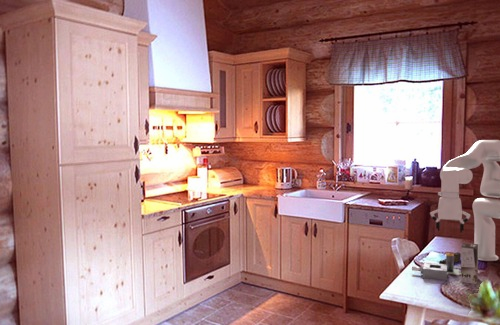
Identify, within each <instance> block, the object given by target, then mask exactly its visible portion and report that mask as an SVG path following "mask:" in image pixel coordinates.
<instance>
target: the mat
mask: <svg viewBox="0 0 500 325" xmlns="http://www.w3.org/2000/svg"><path fill="white" fill-rule="evenodd" d="M447 275H458V276H459V275H460V269H456V268H454V272H447Z"/></svg>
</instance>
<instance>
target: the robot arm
mask: <svg viewBox="0 0 500 325" xmlns="http://www.w3.org/2000/svg"><path fill="white" fill-rule="evenodd" d="M498 162H500V140H499V139H481V140H477V141H476V142H475V143H474V144H473V145H472V146H471V147H470V148H469V149H468V151H467V152H466V153H464V154H462V155H460V156H457V157H455V158H453V159H451V160H448V161H447V162H446V164H444V165H443V167H442V168H441V170H440V173H439V177H440V181H441V186H440V187H441V189H440V192H437V195H438V196H440V197H439V200H438V204H437V205H438V206H437V209H435V210H433V211H430V212H429V215H430V216H431V218H432V219H433V220H434V222H435V223H436V224H435V226H436V227H435V228H436V229H437V231H440V229H441V228H440V227H441V225H440V224H441V223H440V221H441V220H447V221H459V232H460V233H463V231H464V230H465V229H464V224H465V223H467V222H468V220H469V219H470V218H471V214H470V213H468V212H466V211H464V210H463V207H462V200H461V198H460V184H463V185H466V184H469V183H470V182H471V181H472V180H473V179H474V178H473V177H474V176H473V171H472V170H471V169H475V168H478V167H479V166H481V165H483V174H482V179H481V183H480V188H479V191H480V194H481V195H482V196H484V197H479V198H475V199H474V201H473V203H472V211H473V217H474V229H473V230H474V235H473V236H474V239H473V240H474V241H473V242H474V243H473V244H478V261H482V262H483V261H484V262H494V261H495V262H496V261H498V260H499V256H498V255H496V224H495V221H494V220H493V219H500V164H499V163H498ZM487 197H489V198H487ZM496 198H497V199H496ZM435 214H437V216H438V217H436V216H435ZM463 215H464V216H466V217H465V218H463Z"/></svg>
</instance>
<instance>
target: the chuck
mask: <svg viewBox="0 0 500 325" xmlns="http://www.w3.org/2000/svg"><path fill="white" fill-rule="evenodd" d="M411 270H412V272H413V271H414V272H420V274H421V275H422V279H426V280H435V281H440V282H448V274H447V264H439V263H435V262H427V261H426V262H423V265H422V264H420V267H419V266H412V268H411Z"/></svg>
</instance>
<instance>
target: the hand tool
mask: <svg viewBox="0 0 500 325" xmlns="http://www.w3.org/2000/svg"><path fill="white" fill-rule="evenodd" d="M453 253H454V264H455V263H459V262H461V252H459V251H458V252H453ZM438 264H446V258H445V259H441V260H439V261H438Z"/></svg>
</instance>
